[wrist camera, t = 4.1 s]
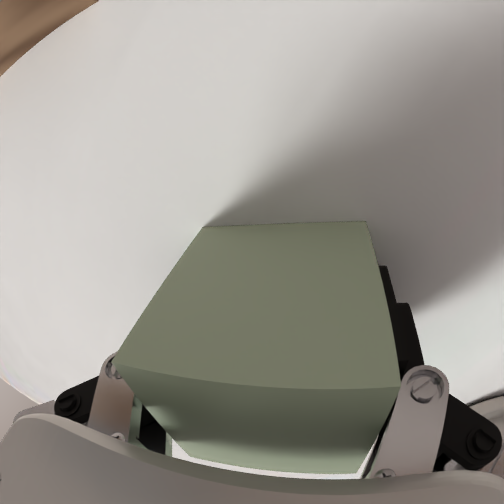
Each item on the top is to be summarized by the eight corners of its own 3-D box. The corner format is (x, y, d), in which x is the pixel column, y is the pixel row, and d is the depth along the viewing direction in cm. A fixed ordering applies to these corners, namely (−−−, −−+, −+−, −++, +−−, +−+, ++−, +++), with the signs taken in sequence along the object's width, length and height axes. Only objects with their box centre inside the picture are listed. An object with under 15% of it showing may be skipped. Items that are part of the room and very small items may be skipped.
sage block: (365, 220, 9) (401, 386, 4) (355, 339, 12) (356, 473, 7) (202, 227, 10) (111, 361, 5) (231, 336, 13) (189, 456, 8)
